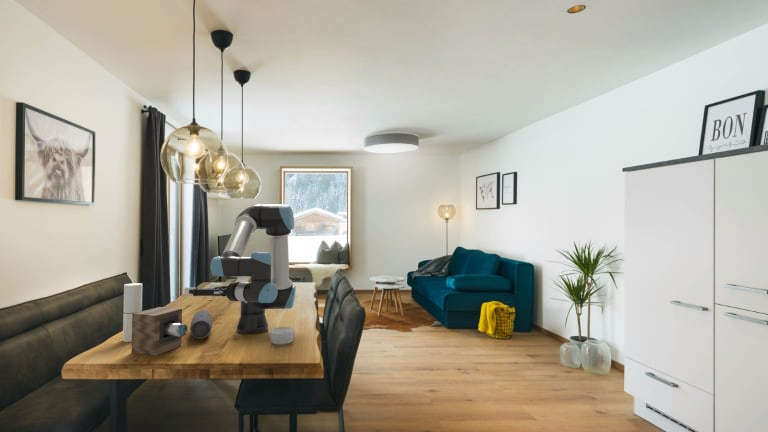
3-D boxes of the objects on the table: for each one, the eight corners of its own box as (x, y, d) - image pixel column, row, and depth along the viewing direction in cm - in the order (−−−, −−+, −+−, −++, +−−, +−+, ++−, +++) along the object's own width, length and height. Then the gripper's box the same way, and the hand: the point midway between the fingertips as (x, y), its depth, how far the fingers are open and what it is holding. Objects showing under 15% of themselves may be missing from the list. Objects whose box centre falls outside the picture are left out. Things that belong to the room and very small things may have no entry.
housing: (181, 345, 179) (182, 308, 179) (155, 355, 165) (156, 315, 165) (158, 343, 182) (159, 306, 182) (131, 352, 169) (132, 313, 169)
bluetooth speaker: (191, 330, 205) (192, 309, 205) (212, 328, 209) (212, 308, 209) (188, 342, 184) (189, 320, 184) (211, 340, 187) (211, 318, 188)
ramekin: (271, 346, 180) (271, 334, 180) (267, 339, 190) (267, 328, 190) (296, 343, 184) (296, 332, 184) (291, 337, 194) (292, 326, 194)
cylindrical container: (122, 342, 183) (123, 285, 183) (123, 338, 189) (124, 283, 189) (140, 340, 186) (141, 285, 186) (141, 336, 192) (142, 282, 193)
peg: (187, 334, 172) (187, 322, 173) (178, 338, 168) (178, 325, 168) (164, 332, 176) (164, 320, 176) (154, 335, 171) (154, 323, 171)
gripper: (216, 305, 151) (172, 302, 158) (259, 297, 174) (219, 295, 181) (217, 284, 151) (173, 282, 158) (260, 279, 174) (220, 277, 182)
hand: (198, 289), depth 170 cm, fingers open, 13 cm apart
